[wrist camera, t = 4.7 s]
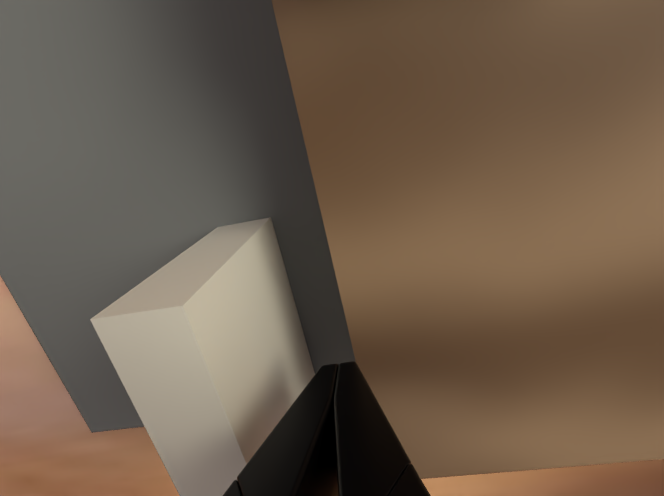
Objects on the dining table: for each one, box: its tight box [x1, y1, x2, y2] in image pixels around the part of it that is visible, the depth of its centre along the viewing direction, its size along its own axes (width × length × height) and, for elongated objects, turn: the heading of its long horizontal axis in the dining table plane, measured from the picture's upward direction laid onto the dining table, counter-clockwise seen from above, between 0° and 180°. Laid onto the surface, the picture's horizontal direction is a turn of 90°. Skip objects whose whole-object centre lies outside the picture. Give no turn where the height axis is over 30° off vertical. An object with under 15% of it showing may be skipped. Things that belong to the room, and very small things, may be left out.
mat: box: [0, 0, 356, 432], centre depth 12 cm, size 22×13×1 cm, turn 12°
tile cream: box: [90, 217, 315, 496], centre depth 11 cm, size 7×6×2 cm
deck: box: [272, 0, 664, 479], centre depth 9 cm, size 22×10×4 cm, turn 12°
